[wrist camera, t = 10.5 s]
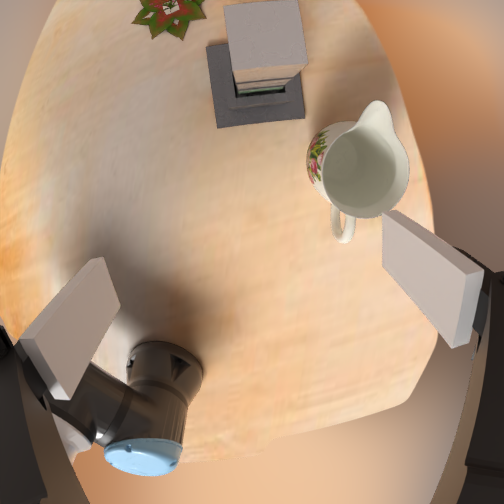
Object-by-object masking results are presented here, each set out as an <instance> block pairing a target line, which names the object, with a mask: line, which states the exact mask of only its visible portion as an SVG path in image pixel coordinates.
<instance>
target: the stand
mask: <svg viewBox="0 0 504 504" xmlns="http://www.w3.org/2000/svg"><path fill="white" fill-rule="evenodd" d="M206 52H207V59H208V66H209V74H210V81H211V88H212V95H213V102H214V109H215V116H216V123H217V129H218V128H225V127H231V126H239V125H246V124H254V123H263V122H272V121H282V120H292V119H305V114H304V105H303V97H302V90H301V82H300V75H299V72H298V73H297V74H296V75H295V76H294V79H291V80H290V81H289V82H287V83H286V86H283V89H280V90H271V91H262V92H253V93H245V94H239V93H238V90H237V85H235V79H234V74H233V71H232V64H231V57H230V50H229V43H228V44H222V45H215V46H209V47H206Z"/></svg>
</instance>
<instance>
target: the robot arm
mask: <svg viewBox="0 0 504 504" xmlns="http://www.w3.org/2000/svg"><path fill="white" fill-rule="evenodd" d="M382 266H383V268H384V269H385V270H386V271H387V272H388V273H389V274H390V275H391V276H392V278H393V279H394V280H395V281H396V282H397V283H398V284H399V286H400V287H401V288H402V289H403V290H404V291H405V292H406V294H407V295H408V296H409V297H410V298H411V299H412V301H413V302H414V303H415V304H416V305H417V307H418V308H419V309H420V310H421V311H422V313H423V314H424V315H425V316H426V317H427V319H428V320H429V321H430V322H431V323H432V325H433V326H434V327H435V328H436V330H437V331H438V332H439V333H440V334H441V336H442V337H443V338H444V339H445V341H446V342H447V343H448V344H449V346H450V347H451V348H455V347H457V346H460V345H464V344H466V343H469V340H470V336H471V332H472V329H473V328H474V330H475V331H477V333H478V334H479V335H478V338H477V342H476V346H475V349H474V353H473V355H472V359H471V360H473V365H472V371H471V376H470V381H469V386H468V390H467V395H466V399H465V403H464V407H463V411H462V415H461V418H460V422H459V425H458V429H457V432H456V436H455V439H454V442H453V445H452V449H451V451H450V454H449V457H448V460H447V463H446V466H445V468H444V471H443V474H442V476H441V479H440V481H439V484H438V486H437V489H436V491H435V493H434V496H433V498H432V501H431V503H430V504H504V271H501V272H496V273H494V272H492V271H491V270H490V269H489V268H487V267H486V266H485V265H483V264H482V263H480V262H479V261H477V260H476V259H475V258H474V257H471V255H469V254H468V253H466V252H465V251H464V250H461V249H459V248H456V247H453V246H451V245H449V244H448V243H446V242H445V241H443V240H442V239H440V238H439V237H437V236H436V235H434V234H433V233H432V232H430V231H429V230H427V229H425V228H424V227H422V226H421V225H419V224H418V223H416V222H415V221H413V220H412V219H410V218H409V217H407V216H405V215H404V214H402V213H401V212H399V211H397V210H392V211H384V212H382ZM120 307H121V305H120V302H119V300H118V297H117V294H116V291H115V289H114V286H113V283H112V280H111V277H110V274H109V271H108V269H107V266H106V263H105V259H104V257H99V258H93V259H90V260H89V261H88V262H87V263H86V264H85V265H84V266H83V267H82V268H81V269H80V270H79V271H78V272H77V274H76V275H75V276H74V277H73V278H72V279H71V280H70V281H69V282H68V283H67V284H66V285H65V286H64V287H63V288H62V289H61V291H60V292H59V293H58V294H57V295H56V296H55V297H54V298H53V299H52V300H51V302H50V303H49V304H48V305H47V306H46V307H45V308H44V309H43V311H42V312H41V313H40V314H39V315H38V316H37V318H36V319H35V320H34V321H33V322H32V323H31V325H30V326H29V327H28V328H27V329H26V330H25V332H24V333H23V334H22V335H21V336H20V338H19V340H18V342H17V343H16V344H15V345H14V346H13V344H12V342H11V340H10V338H9V337H8V335H7V333H6V331H5V329H4V327H3V326H1V325H0V504H90V503H89V501H88V499H87V497H86V495H85V493H84V491H83V489H82V487H81V485H80V482H79V481H78V478H77V476H76V474H75V472H74V469H73V467H72V464H73V461H74V459H75V457H76V454H77V453H79V452H82V451H86V450H89V449H90V448H91V446H92V444H93V442H95V443H97V444H99V445H100V446H102V447H104V456H105V459H106V460H107V461H108V462H110V464H111V465H112V466H114V467H116V468H118V469H120V470H122V471H125V472H128V473H131V474H136V475H142V476H160V475H165V474H167V473H170V472H172V471H173V470H174V469H175V468H176V467H177V465H178V462H179V458H180V454H181V452H182V449H183V447H182V443H183V436H184V430H185V424H186V417H187V410H188V406H189V405H190V403H191V402H192V400H193V399H194V397H195V396H196V394H197V393H198V391H199V390H200V387H201V383H202V375H203V374H202V369H201V366H200V364H199V362H198V361H197V360H196V358H195V357H194V356H193V355H192V354H190V353H189V352H188V351H186V350H185V349H183V348H181V347H179V346H177V345H174V344H171V343H167V342H160V341H153V342H146V343H143V344H141V345H139V346H137V347H136V348H135V349H134V350H133V351H132V352H131V354H130V357H129V359H128V362H127V366H126V373H127V385H126V384H125V383H123V382H122V381H120V380H118V379H117V378H115V377H114V376H112V375H111V374H109V373H108V372H106V371H105V370H103V369H102V368H100V367H99V366H97V365H96V364H95V363H93V362H92V361H91V359H92V357H93V355H94V353H95V352H96V350H97V348H98V346H99V344H100V342H101V341H102V339H103V337H104V335H105V333H106V332H107V330H108V328H109V326H110V324H111V323H112V321H113V319H114V317H115V316H116V314H117V312H118V311H119V309H120Z"/></svg>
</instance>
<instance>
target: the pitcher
mask: <svg viewBox="0 0 504 504" xmlns="http://www.w3.org/2000/svg"><path fill="white" fill-rule="evenodd" d="M306 165H307V171H308V175H309V178H310V180H311V182H312V184H313V186H314V187H315V189H316V190H317V191H318V193H319V194H320V195H321V196H322V197H323V198H325V199H326V200H327V201H329V202H330V203H331V228H332V233H333V236H334V238H335V239H336V240H337V241H338V242H339V243H348V242H349V241H350V240H351V239H352V237H353V235H354V231H355V225H356V218H359V219H369V218H375V217H378V216H381V215H382V212H384V211H390V210H391V209H392V208H393V207H394V206H396V204H397V203H398V202H399V201H400V199H401V198H402V196H403V195H404V193H405V190H406V188H407V185H408V181H409V171H410V168H409V160H408V156H407V153H406V151H405V149H404V147H403V145H402V143H401V142H400V140H399V139H398V137H397V135H396V133H395V130H394V125H393V120H392V116H391V113H390V110H389V108H388V106H387V105H386V104H385V103H384V102H383V101H380V100H374V101H372V102H370V103H369V105H368V106H367V107H366V108H365V110H364V111H363V113H362V114H361V116H360V118H359V120H358V121H357V122H355V121H343V122H337V123H334V124H331V125H329V126H327V127H325V128H324V129H322V130H321V131H320V132H319V133H318V134H317V135H316V136H315V137H314V139H313V140H312V142H311V144H310V146H309V148H308V152H307V158H306ZM340 211H341V212H343V213H344V214H345V226H344V230H343V232H342V229H341V224H340Z"/></svg>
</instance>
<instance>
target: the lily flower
mask: <svg viewBox="0 0 504 504" xmlns="http://www.w3.org/2000/svg"><path fill="white" fill-rule="evenodd" d="M168 1H170V3H169V4H168V3H167V2H168ZM203 1H204V0H191V1H189V0H187V1H185V0H177V2H178V5H179V9H180V10H177V11H175V12H173V13H171V14H168V15H166V14H165V12H164V10H166V9H169V8H166V9H164V10H163V6H167V7H170V12H171V7H174V6H176V5H174V3H175V2H176V1H173V2H174V3H173V5H174V6H173V5H172V0H140V2H141V4H142V6H143V7H144V8H143V9H142V10H141V11H140V12H139V13H138V15H137V16H136V18H135V21H133V22H132V23H131V24H140V25H149V28H150V32H151V34H152V39H153V38H154V37H156V36H157V35H158V34H160V33H161V32H163V31H164V30H165V29H166V30H167V31H168V32H169V33H171V34H172V35H174V36H176V37H179V38H180V39H181V40H182V41H183V38H184V35H185V32H186V30H187V26H188V21H189V20H197V19H201V18H202V19H207V18H206V17H204V14H203V13H202V12H201V9H200V7H199V5H200V4H201V3H202V2H203ZM164 3H165V4H164ZM162 4H163V5H162ZM150 12H156V13H154V14H153V15H152V17H151V18H144V17H146V16H147V15H148V14H149V13H150ZM143 18H144V19H143ZM174 18H176V19H177V20H179V22H178V26H177V24H174V23H173V21H174Z"/></svg>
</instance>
